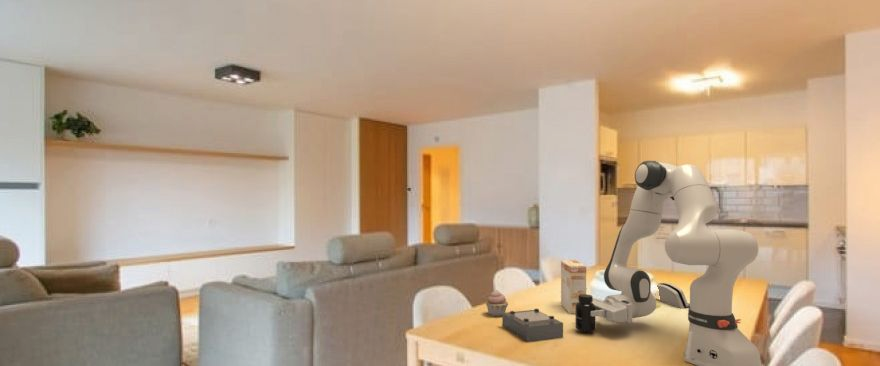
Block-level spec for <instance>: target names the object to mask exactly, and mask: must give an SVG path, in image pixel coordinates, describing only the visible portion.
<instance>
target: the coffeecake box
mask: <svg viewBox="0 0 880 366" xmlns="http://www.w3.org/2000/svg"><path fill="white" fill-rule="evenodd" d="M560 263H561V264H560V305H561V306H562V307H563V308H564V310H565V311H567V312H568V313H569V314H570V315H575V306H576V303H578V299H579V295H580V294H587V265H586V264H583V263H582V262H580V261H579V260H575V259H573V260H572V259H567V260H566V259H564V260H563V259H561V261H560Z"/></svg>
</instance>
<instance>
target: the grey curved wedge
mask: <svg viewBox="0 0 880 366" xmlns="http://www.w3.org/2000/svg"><path fill="white" fill-rule="evenodd" d="M656 285H657V287H658V289H659V296H660V300H661V301H660V300H659V301H660V302H662V301H663V303H665V304H668V305H671V306H673V307H676V308H679V309H685V307H686V308H688V309H689V308H690V302H689V303H688V300H687V297H686V296H685V293H684V291H683V290H682V289H681V288H680V287H678V286H676V285H674V284H672V283H670V282H661V283H657V284H656Z"/></svg>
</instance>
